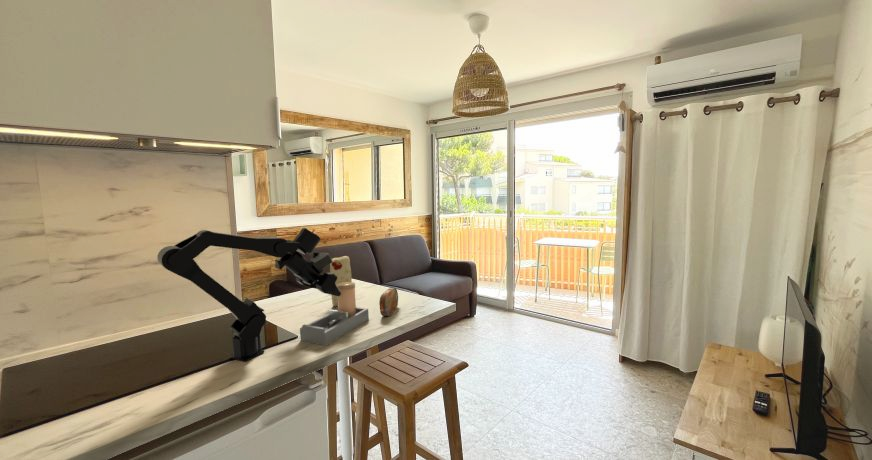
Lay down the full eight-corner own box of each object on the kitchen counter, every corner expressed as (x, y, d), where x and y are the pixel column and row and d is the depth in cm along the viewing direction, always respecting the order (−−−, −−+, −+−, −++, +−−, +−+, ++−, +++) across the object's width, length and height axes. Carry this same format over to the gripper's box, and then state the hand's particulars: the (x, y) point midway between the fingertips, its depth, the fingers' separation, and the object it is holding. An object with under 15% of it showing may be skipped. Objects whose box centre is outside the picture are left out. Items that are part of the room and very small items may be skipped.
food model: (338, 309, 143) (335, 259, 140) (327, 306, 146) (324, 257, 144) (356, 302, 151) (354, 255, 148) (345, 299, 154) (343, 253, 152)
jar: (345, 324, 123) (343, 287, 122) (334, 320, 128) (333, 284, 126) (360, 319, 128) (358, 283, 126) (349, 315, 132) (348, 281, 131)
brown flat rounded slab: (386, 319, 131) (385, 296, 130) (378, 319, 131) (377, 296, 130) (399, 305, 145) (398, 285, 144) (391, 305, 146) (391, 285, 145)
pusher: (339, 331, 118) (338, 317, 117) (321, 328, 121) (320, 314, 120) (348, 325, 122) (347, 311, 122) (330, 322, 125) (330, 309, 125)
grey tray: (325, 345, 110) (325, 329, 109) (300, 340, 114) (299, 325, 113) (368, 319, 131) (368, 306, 130) (346, 315, 135) (345, 302, 134)
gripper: (330, 248, 110) (362, 277, 120) (302, 242, 123) (333, 269, 133) (307, 278, 106) (342, 306, 115) (280, 269, 119) (313, 294, 128)
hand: (332, 292), depth 123 cm, fingers open, 9 cm apart
